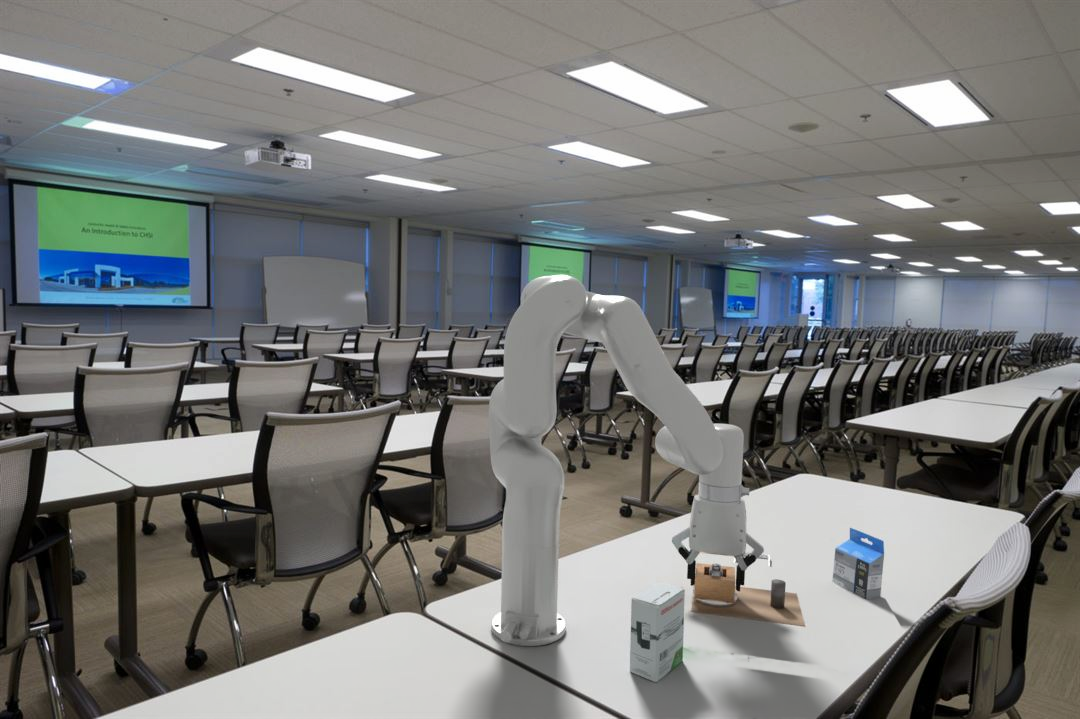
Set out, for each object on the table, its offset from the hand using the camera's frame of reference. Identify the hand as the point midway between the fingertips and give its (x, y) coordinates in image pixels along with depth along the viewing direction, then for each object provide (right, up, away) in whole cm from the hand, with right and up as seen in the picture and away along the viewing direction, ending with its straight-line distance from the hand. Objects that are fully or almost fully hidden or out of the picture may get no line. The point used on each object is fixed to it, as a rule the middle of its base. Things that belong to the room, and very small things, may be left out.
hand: (715, 585), depth 130 cm
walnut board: (+5, -4, -1) cm, 7 cm away
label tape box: (+29, -4, +6) cm, 30 cm away
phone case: (+13, -3, +20) cm, 24 cm away
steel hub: (0, -2, 0) cm, 3 cm away
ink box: (-14, -6, -22) cm, 27 cm away
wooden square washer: (0, -1, 0) cm, 2 cm away
